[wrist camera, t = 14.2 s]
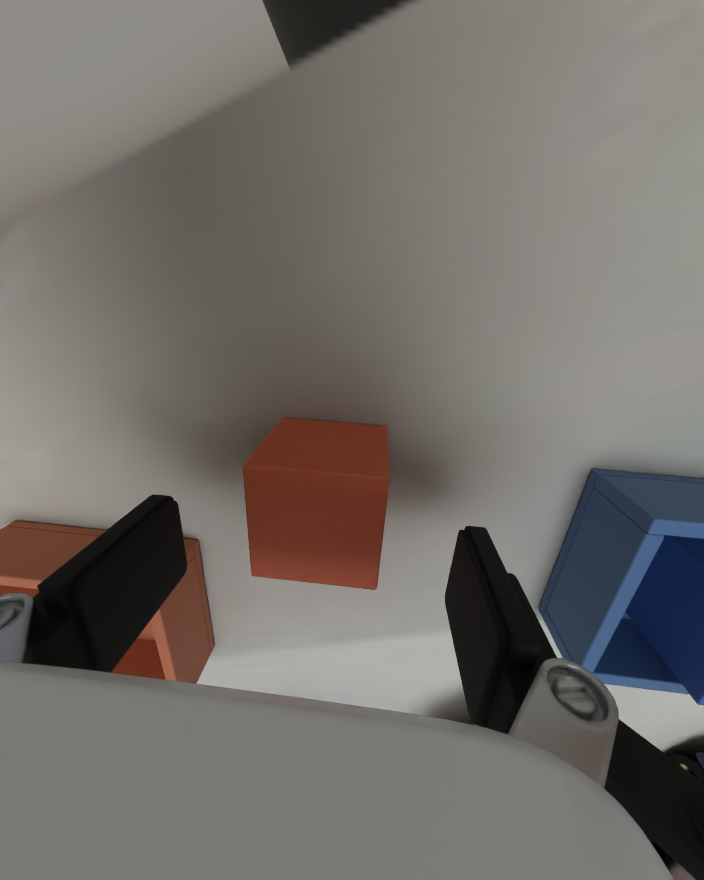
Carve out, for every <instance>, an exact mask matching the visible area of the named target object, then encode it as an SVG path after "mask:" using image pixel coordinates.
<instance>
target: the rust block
mask: <svg viewBox="0 0 704 880" xmlns="http://www.w3.org/2000/svg"><path fill="white" fill-rule="evenodd" d="M243 477H244V489H245V501H246V514H247V526H248V538H249V550H250V563H251V575H252V576H257V577H266V578H275V579H284V580H293V581H302V582H311V583H320V584H329V585H338V586H347V587H355V588H364V589H373V590H375V589H376V588H377V584H378V575H379V566H380V558H381V549H382V540H383V532H384V523H385V514H386V506H387V497H388V488H389V480H390V478H389V451H388V428H387V427H386V426H377V425H365V424H353V423H341V422H329V421H317V420H305V419H293V418H283V419H282V420H281V421H280V422H279V423H278V424H277V425H276V427H275V428H274V429H273V430H272V431H271V432H270V434H269V435H268V436H267V437H266V438H265V439H264V441H263V442H262V443H261V444H260V445H259V446H258V447H257V449H256V450H255V451H254V452H253V453H252V454H251V456H250V457H249V458H248V459H247V460H246V461H245V463H244V464H243Z"/></svg>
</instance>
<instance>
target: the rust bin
mask: <svg viewBox="0 0 704 880" xmlns="http://www.w3.org/2000/svg"><path fill="white" fill-rule="evenodd" d="M105 531H107V530H98V529H89V528H79V527H70V526H61V525H51V524H42V523H32V522H23V521H14V522H12V523H11V524H9V525H7V527H4V528H2V529H1V530H0V596H1V595H5V594H9V593H25V594H29V595H30V596H31V597H32V598H33V597H34V596H36V595H37V594H38V593H39V590H38V588H37V585H39V584H40V583H41V582H42V581H44V580H45V579H46V578H47V577H49V576H50V575H51V574H52V573H54V572H55V571H56V570H57V569H59V568H60V567H61V566H62V565H64V564H65V563H66V562H68V561H69V560H70V559H71V558H73V557H74V556H75V555H76V554H78V553H79V552H80V551H81V550H83V549H84V548H85V547H86V546H88V545H89V544H90V543H91V542H93V541H94V540H95V539H96V538H98V537H99V536H100V535H101V534H103V533H104V532H105ZM184 545H185V552H186V558H187V570H186V573H185V575H184V576H183V578H182V579H181V580H180V582H179V583H178V584H177V586H176V587H175V588H174V590H173V591H172V592H171V594H170V595H169V596H168V598H167V599H166V600H165V602H164V603H163V604H162V606H161V607H160V608H159V610H158V611H157V612H156V614H155V615H154V616H153V618H152V619H151V620H150V622H149V623H148V624H147V626H146V627H145V628H144V630H143V631H142V632H141V634H140V635H139V636H138V638H137V639H136V640H135V642H134V643H133V644H132V646H131V647H130V648H129V650H128V651H127V652H126V654H125V655H124V656H123V658H122V659H121V660H120V662H119V663H118V664H117V666H116V667H115V668H114V669H113V671H112V672H110V673H116V674H124V675H132V676H140V677H147V678H155V679H163V680H171V681H179V682H186V683H194V684H196V683H197V681H198V679H199V677H200V675H201V673H202V671H203V669H204V667H205V664H206V662H207V660H208V658H209V656H210V653H211V652H212V650H213V648H214V639H213V633H212V626H211V620H210V614H209V607H208V601H207V594H206V588H205V582H204V575H203V569H202V562H201V556H200V550H199V543H198V540H192V539H184Z"/></svg>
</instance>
